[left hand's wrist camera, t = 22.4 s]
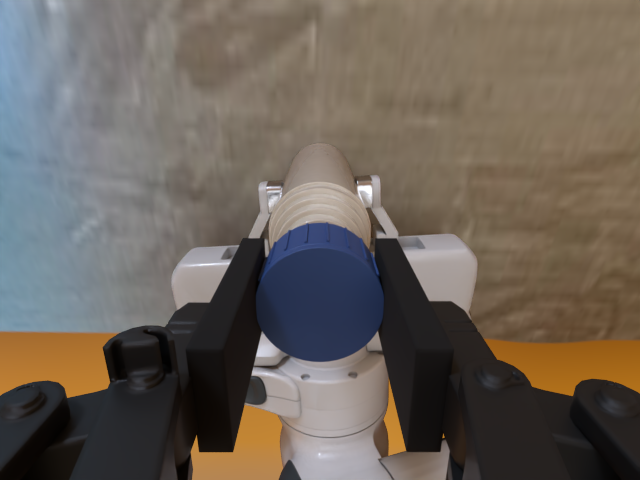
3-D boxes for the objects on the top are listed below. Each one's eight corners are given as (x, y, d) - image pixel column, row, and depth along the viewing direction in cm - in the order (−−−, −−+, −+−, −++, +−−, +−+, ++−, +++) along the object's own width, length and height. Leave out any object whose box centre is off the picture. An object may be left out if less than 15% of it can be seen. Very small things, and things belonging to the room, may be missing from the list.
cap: (267, 213, 14) (257, 237, 12) (385, 227, 14) (398, 253, 12) (259, 317, 15) (248, 356, 13) (367, 329, 15) (374, 369, 13)
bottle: (288, 200, 33) (243, 356, 14) (291, 140, 32) (245, 221, 12) (346, 204, 33) (384, 365, 14) (352, 145, 32) (405, 232, 12)
